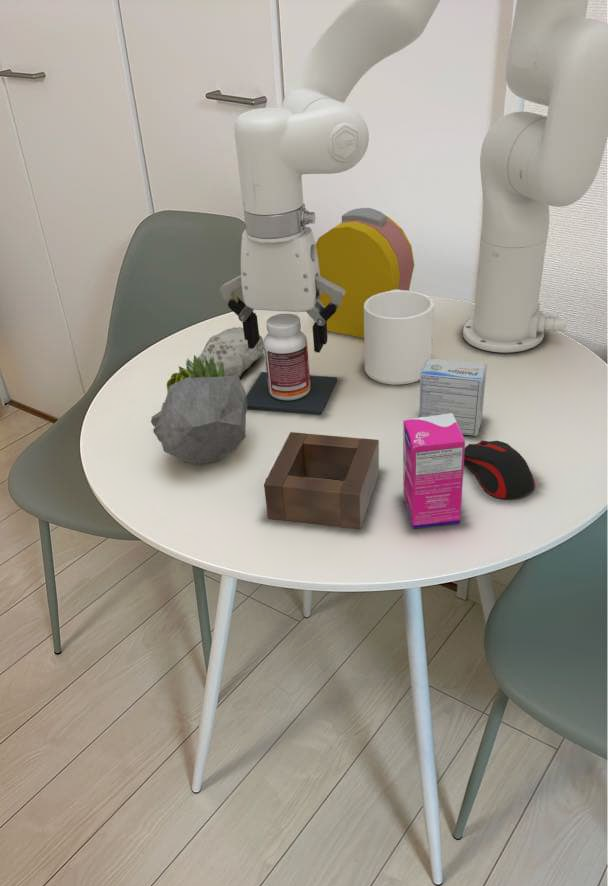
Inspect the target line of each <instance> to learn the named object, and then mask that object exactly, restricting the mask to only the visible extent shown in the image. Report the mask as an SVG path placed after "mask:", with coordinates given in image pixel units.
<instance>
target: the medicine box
mask: <svg viewBox="0 0 608 886" xmlns="http://www.w3.org/2000/svg"><path fill="white" fill-rule="evenodd" d="M487 368H488V365H487V364H486V363H484V362H473V361H464V360H454V359H453V360H451V359H442V358H441V359H439V358H431V359H427V362H426V364H425V366H424V368H423V370H422V372H421V374H420V380H419V381H420V382H419V408H418V410H419V411H418V418H420V417H428V416H435V415H442V414H449V413H453V415H454V417H455V420H456V422H457V424H458V426H459V428H460V430H461V433H462V435H463V436H464V435H465V436H474V437H477V436H478V435H479V432H480V431H479V430H480V427H481V424H482V421H483V413H484V401H485V400H484V398H485V391H486V389H485V388H486V380H487V379H486V378H487Z"/></svg>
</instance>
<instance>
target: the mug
mask: <svg viewBox="0 0 608 886" xmlns="http://www.w3.org/2000/svg"><path fill="white" fill-rule="evenodd" d="M434 305H435V303H434V300H433V298H431V297H430V296H429V295H427V294H424V293H422V292H418V291H415V290H409V291H406V290H397V289H395V290H391V291H387V292H383V293H379V294H376V295H373V296H372V297H370V298H368V299H367V300H366V301H365V303H364V338H363V342H364V344H363V346H364V347H363V350H364V371H365V373H366V375H367V376H368V377H369V378H370V379H372V380H373V381H375V382H377V383H381V384H386V385H395V386H397V385H398V386H400V385H402V386H403V385H410V384H412V383H417V382H419V381H420V374H421V372H422V370H423V368H424V366H425V364H426V362H427V359H432V353H433V350H432V347H433V346H432V345H433V330H434V328H433V325H434V307H435V306H434Z"/></svg>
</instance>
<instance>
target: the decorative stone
mask: <svg viewBox="0 0 608 886" xmlns="http://www.w3.org/2000/svg"><path fill="white" fill-rule="evenodd" d="M259 337H260V339H259V341H258V343H257V344H256V345H255V347H254V348H253V349H249V348H248V342H247V340H245V338H244V330H243V326H242V327H241V326H238V327H230V328H227V329H224V330H223V331H221V332H219V333H217V334H214V335H213V336H211V337H210V338H208V341H207V342H206V343H205V345H204V348H203V350H202V351H201V354H200V355H198V357H199V358H200V360H201V361H202V362H203V363H204V355H205V357H206V359H207V361H208V363H209V361H210V357H211V358H212V356H213V358H214V363H215V364H216V369H217V374H218V371H219V367H220V362H222V363H223V367H224V375H225V376H229V375H230V376H231V375H238V377H239V379H240V378H241V376H243V374H244V372H245V371H246V370H248V369H250V367H251V366H252V364H253V363H254V362H255V361H257V360H258V359H260V357H261V356H262V355H263V354H264V338H263V337H262V335H260V334H259Z"/></svg>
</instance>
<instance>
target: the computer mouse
mask: <svg viewBox="0 0 608 886" xmlns="http://www.w3.org/2000/svg"><path fill="white" fill-rule="evenodd" d="M464 466H466V468H467V469H468V470H469V471H471V472H472V473H473V474H474V476H475V477H476V478H477V481H478V483H479V485H480V487H481V488H482V489H483V490H484V491H485V492H486V493H487V494H488V495H490V496H491V497H493V498H496V499H500V500H501V499H502V500H513V499H519V498H523V497H525V496H527V495H530V494H531V493H532V492H533V491H534V490H535V488H536V482H535V481H536V480H535V477H534V476H533V474H532V471H531V469H530V467H529V464H528V463H527V461H526V459H525V458H524V457H523V456H522V455H521V453H519V452H518V451H517V450H516V449H515V448H514V447H512V446H511V445H510V444H509V443H507V442H504V441H500V440H491V441H488V440H480V441H478V442H477V443H469V444H467V445H465V453H464Z"/></svg>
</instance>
